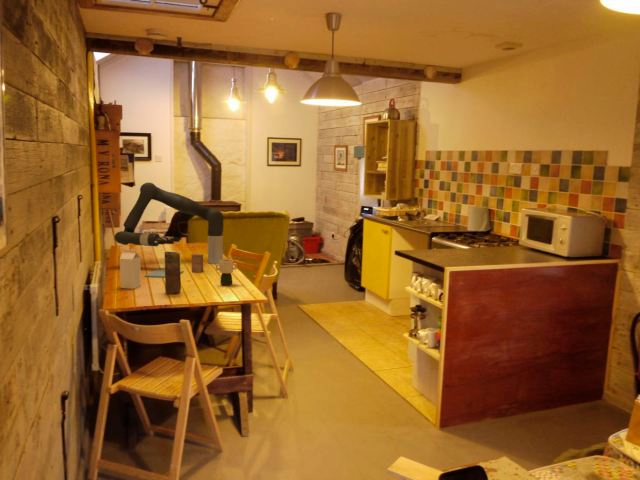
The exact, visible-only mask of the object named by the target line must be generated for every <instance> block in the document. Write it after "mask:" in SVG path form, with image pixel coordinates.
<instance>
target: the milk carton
mask: <svg viewBox="0 0 640 480" xmlns="http://www.w3.org/2000/svg"><path fill="white" fill-rule="evenodd" d="M119 274H120V277H119V278H120V288H121V289H133V290H134V289H136V288H139V287H141V286H142V285H141V284H142V282H141V280H142V279H141V278H142V277H141V257H140V255H139V253H138V252H137V250H135V249H123V250H122V253H121V254H120V258H119Z"/></svg>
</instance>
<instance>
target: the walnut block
mask: <svg viewBox="0 0 640 480" xmlns="http://www.w3.org/2000/svg"><path fill="white" fill-rule="evenodd" d="M202 272H204V254H203V253H193V254H191V273H196V274H200V273H202Z"/></svg>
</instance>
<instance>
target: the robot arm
mask: <svg viewBox="0 0 640 480" xmlns="http://www.w3.org/2000/svg"><path fill="white" fill-rule="evenodd" d="M151 201H157V202H160V203H162V204H164V205H166V206H168V207H169V208H172V209H174V210H176V211H179V212H181V213H184V214H187V215H190V216H191V215H192V216H196V217H199V218H201V219H203V220H205V221H207V222H208V223H207V225H208V226H207V264H212V265H213V264H214V265H216V264H219V260H222V259H224V244H223V243H224V241H223V240H224V238H223V235H224V214H223V213H222V211H220V210H219V209H215V208H211V207H208V206H205V205H203V204H200V203H199V202H197V201H195V200H193V199H191V198H189V197H187V196H184V195H182V194H178V193H175V192H172V191H171V192H170V191H167V190H164V189H162V188H160V187H158V186H156V185H155V184H154V183H152V182H145V183H142V185H141V186H140V188H139V195H138V197H137V200H136V202H135V204H134V206H133V207H132V209H131V210H130V212H129V214H128V215H127V216H126V219H125V221H123V227H124V230H122V231H118V232H116V233H115V234H114V241H115V242H116V243H118V244H121V245H123V246H126V245H129V244H132V245H135V246H145V247H158V246H160V245H167V244H168V245H173V244H175V242H176V243H179V242H180V241H181V239H180V237H175V236H165V235H163V236H160V234H159V233H155V232H154V233H153V232H135V230H136V228H137V226H138V224H139V222H140V221H141V219H142V216H143V214H144V212H145V210H146V209H147V207H148V205H149V203H150V202H151Z"/></svg>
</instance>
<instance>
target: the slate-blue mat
mask: <svg viewBox="0 0 640 480" xmlns="http://www.w3.org/2000/svg"><path fill="white" fill-rule="evenodd" d="M183 273H185V271H184V270H180V275H181V274H183ZM144 278H157V279H159V278H161V279H165V269H154V271H151V272H148V273H146V274H144Z"/></svg>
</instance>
